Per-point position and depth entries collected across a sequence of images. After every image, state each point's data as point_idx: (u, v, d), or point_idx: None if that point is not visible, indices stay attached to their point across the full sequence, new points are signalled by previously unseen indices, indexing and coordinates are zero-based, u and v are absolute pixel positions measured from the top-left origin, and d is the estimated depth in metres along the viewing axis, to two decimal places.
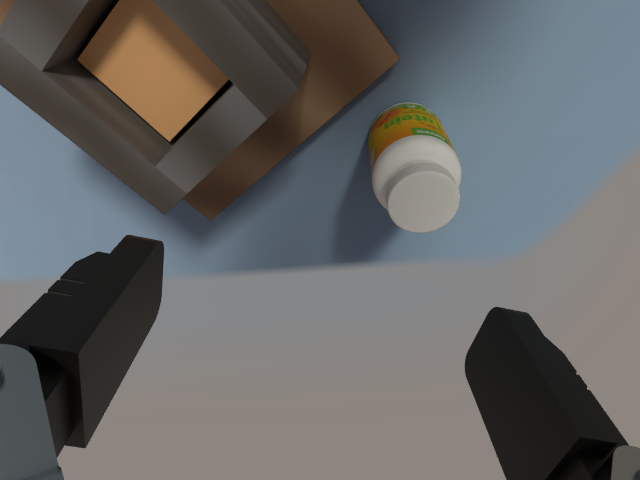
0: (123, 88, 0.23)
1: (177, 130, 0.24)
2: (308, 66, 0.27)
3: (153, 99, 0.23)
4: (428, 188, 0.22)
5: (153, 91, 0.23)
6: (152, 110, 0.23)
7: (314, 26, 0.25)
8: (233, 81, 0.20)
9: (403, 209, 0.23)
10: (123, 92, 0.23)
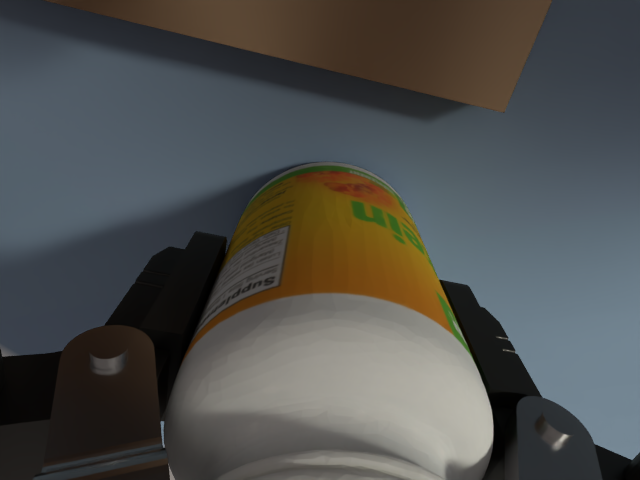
0: None
1: None
2: None
3: None
4: None
5: None
6: None
7: None
8: None
9: None
10: None
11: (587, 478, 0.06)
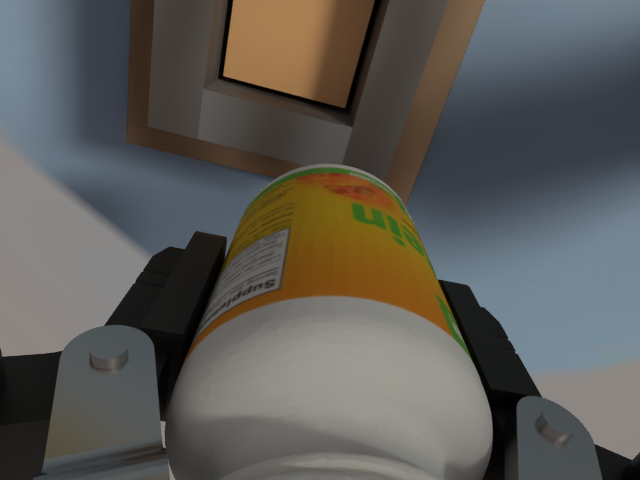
0: None
1: (242, 79, 0.20)
2: None
3: (259, 36, 0.19)
4: None
5: (268, 33, 0.19)
6: (246, 41, 0.19)
7: None
8: (355, 125, 0.18)
9: None
10: None
11: (587, 478, 0.06)
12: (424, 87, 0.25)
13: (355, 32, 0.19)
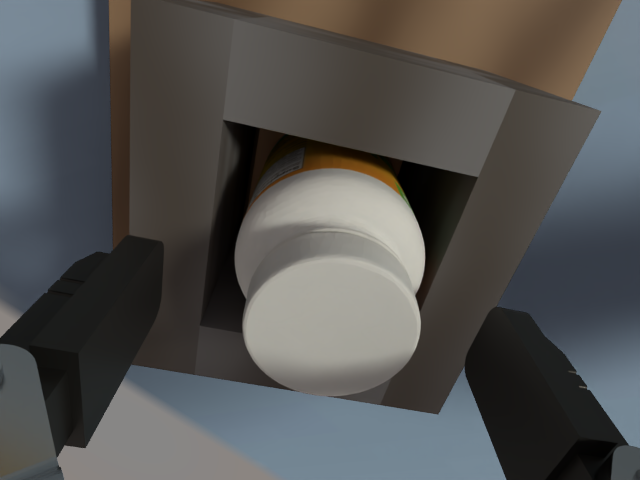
0: None
1: None
2: None
3: None
4: (372, 319, 0.09)
5: None
6: None
7: None
8: None
9: (290, 311, 0.09)
10: (265, 157, 0.17)
11: None
12: None
13: None
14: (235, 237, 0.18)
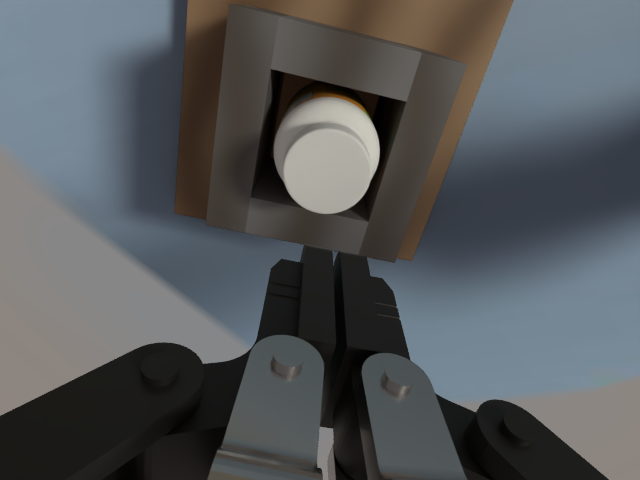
0: None
1: None
2: None
3: None
4: (347, 164, 0.18)
5: None
6: None
7: None
8: (370, 220, 0.23)
9: (307, 159, 0.18)
10: (285, 107, 0.26)
11: (410, 425, 0.06)
12: None
13: None
14: (264, 162, 0.27)
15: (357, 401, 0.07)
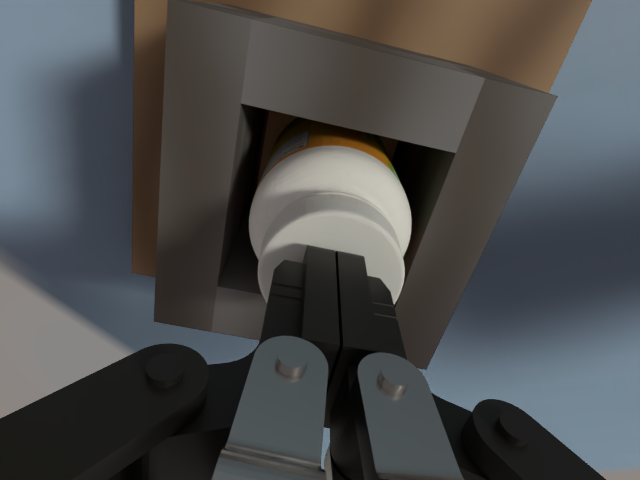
0: None
1: None
2: None
3: None
4: None
5: None
6: None
7: None
8: None
9: (297, 258, 0.11)
10: (273, 143, 0.19)
11: (406, 424, 0.06)
12: None
13: None
14: (245, 216, 0.20)
15: (353, 401, 0.07)
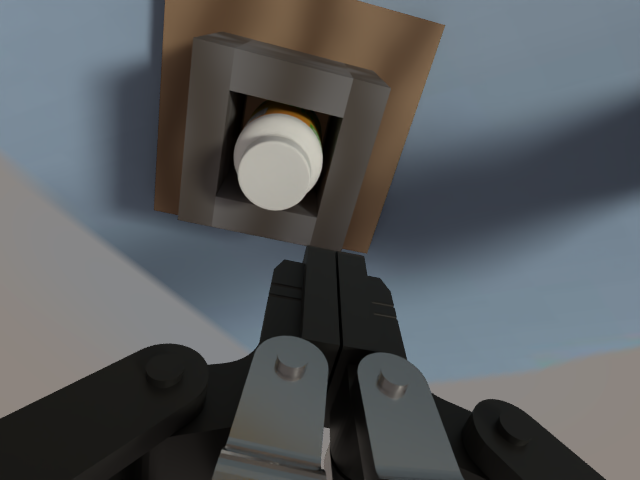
0: None
1: None
2: None
3: None
4: (290, 170, 0.22)
5: None
6: None
7: None
8: (318, 216, 0.27)
9: (257, 166, 0.22)
10: (249, 118, 0.30)
11: (406, 424, 0.06)
12: (376, 168, 0.34)
13: None
14: (232, 166, 0.31)
15: (353, 401, 0.07)
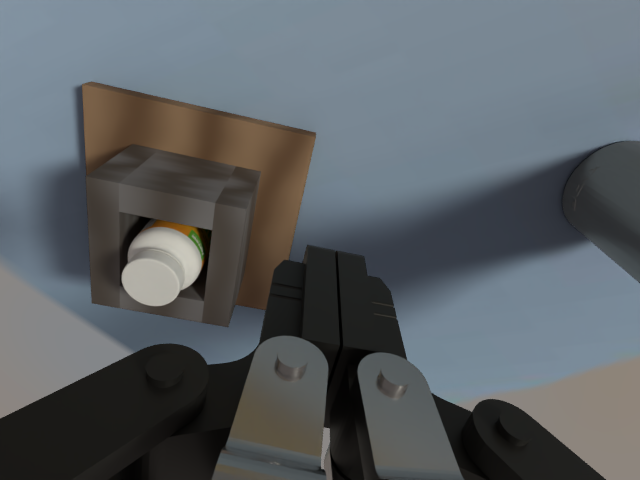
0: None
1: None
2: None
3: None
4: (162, 278, 0.28)
5: None
6: None
7: (257, 268, 0.41)
8: (205, 300, 0.33)
9: (135, 275, 0.28)
10: None
11: (406, 424, 0.06)
12: (274, 245, 0.40)
13: None
14: None
15: (353, 401, 0.07)
